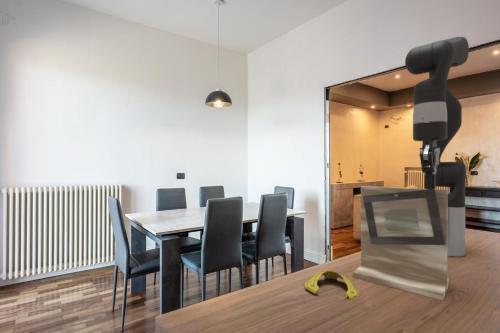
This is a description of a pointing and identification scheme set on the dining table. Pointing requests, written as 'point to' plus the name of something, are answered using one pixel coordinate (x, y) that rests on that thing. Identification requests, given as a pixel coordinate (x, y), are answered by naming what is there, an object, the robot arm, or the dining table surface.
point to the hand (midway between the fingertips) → (430, 189)
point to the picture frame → (404, 218)
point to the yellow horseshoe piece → (312, 282)
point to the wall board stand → (405, 255)
